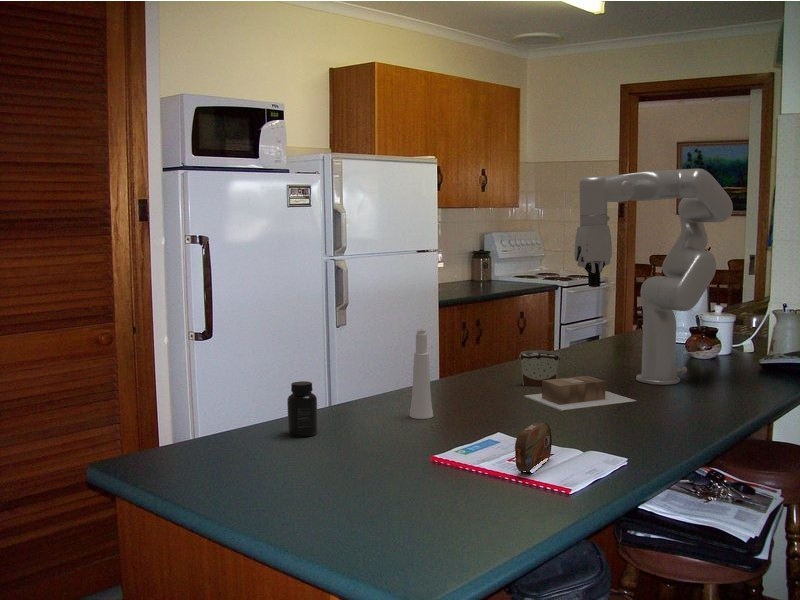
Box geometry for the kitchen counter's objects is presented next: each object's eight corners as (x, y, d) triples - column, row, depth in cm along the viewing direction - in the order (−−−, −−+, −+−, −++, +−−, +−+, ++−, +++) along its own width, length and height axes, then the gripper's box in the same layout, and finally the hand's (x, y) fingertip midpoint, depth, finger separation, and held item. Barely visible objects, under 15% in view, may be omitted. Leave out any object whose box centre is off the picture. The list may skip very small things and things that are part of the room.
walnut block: (587, 375, 228) (542, 380, 222) (605, 380, 221) (559, 385, 215) (587, 393, 228) (542, 398, 222) (605, 399, 221) (559, 404, 215)
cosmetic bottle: (404, 416, 205) (404, 329, 203) (420, 411, 210) (420, 327, 207) (422, 420, 201) (422, 332, 199) (438, 415, 206) (438, 329, 203)
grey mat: (595, 388, 236) (595, 387, 236) (636, 402, 219) (637, 400, 219) (524, 396, 226) (524, 395, 226) (562, 411, 210) (562, 409, 210)
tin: (527, 479, 158) (527, 436, 157) (511, 476, 159) (512, 434, 158) (553, 458, 171) (553, 419, 170) (538, 456, 172) (539, 417, 171)
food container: (558, 383, 243) (559, 350, 242) (560, 388, 237) (561, 354, 236) (517, 382, 245) (517, 349, 243) (518, 387, 238) (518, 353, 237)
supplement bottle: (322, 431, 192) (321, 381, 191) (310, 438, 185) (309, 387, 184) (296, 428, 194) (295, 379, 193) (282, 436, 188) (281, 385, 186)
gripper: (605, 219, 234) (606, 283, 237) (563, 222, 228) (564, 287, 230) (623, 220, 228) (624, 285, 230) (580, 223, 221) (581, 290, 224)
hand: (594, 286), depth 230 cm, fingers closed
